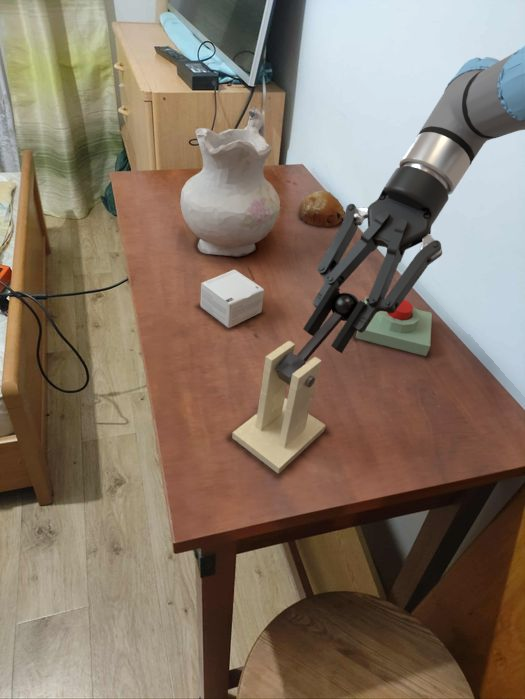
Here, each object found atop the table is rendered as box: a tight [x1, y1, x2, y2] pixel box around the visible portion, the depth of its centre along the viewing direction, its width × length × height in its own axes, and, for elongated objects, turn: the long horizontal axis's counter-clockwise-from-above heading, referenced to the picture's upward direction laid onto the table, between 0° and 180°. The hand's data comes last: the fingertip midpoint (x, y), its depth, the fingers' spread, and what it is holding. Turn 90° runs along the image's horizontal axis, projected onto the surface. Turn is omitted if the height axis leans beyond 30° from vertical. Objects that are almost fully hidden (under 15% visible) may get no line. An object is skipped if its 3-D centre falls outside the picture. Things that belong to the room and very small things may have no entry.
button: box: [387, 299, 414, 320], centre depth 86 cm, size 4×4×2 cm
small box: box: [200, 269, 265, 329], centre depth 87 cm, size 8×8×5 cm
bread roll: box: [298, 190, 346, 228], centre depth 118 cm, size 10×10×8 cm
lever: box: [276, 291, 360, 386], centre depth 63 cm, size 14×4×4 cm, turn 139°
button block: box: [355, 296, 433, 357], centre depth 88 cm, size 12×10×4 cm
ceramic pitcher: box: [179, 106, 281, 257], centre depth 99 cm, size 22×20×25 cm
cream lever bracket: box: [232, 340, 326, 474], centre depth 64 cm, size 10×8×14 cm
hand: (322, 340), depth 64 cm, fingers closed on lever, 4 cm apart
